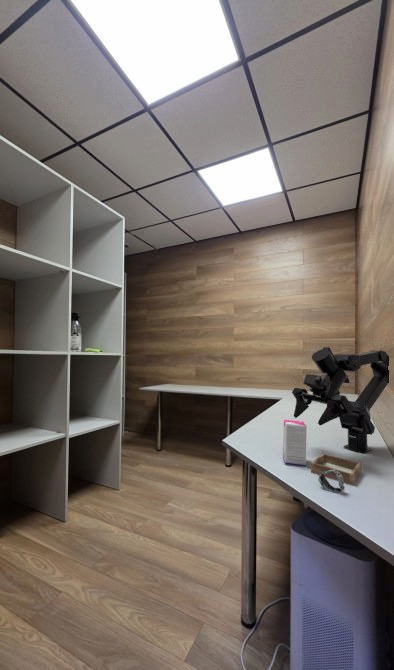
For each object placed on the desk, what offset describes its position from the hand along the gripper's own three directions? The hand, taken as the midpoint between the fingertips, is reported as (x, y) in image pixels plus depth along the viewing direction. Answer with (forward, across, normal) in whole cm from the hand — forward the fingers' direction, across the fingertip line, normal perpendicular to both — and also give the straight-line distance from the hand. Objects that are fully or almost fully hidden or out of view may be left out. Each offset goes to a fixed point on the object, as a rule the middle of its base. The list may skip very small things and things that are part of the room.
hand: (306, 420), depth 81 cm
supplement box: (+12, 0, +5) cm, 13 cm away
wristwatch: (+15, +16, +2) cm, 22 cm away
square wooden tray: (+8, +10, +8) cm, 15 cm away
